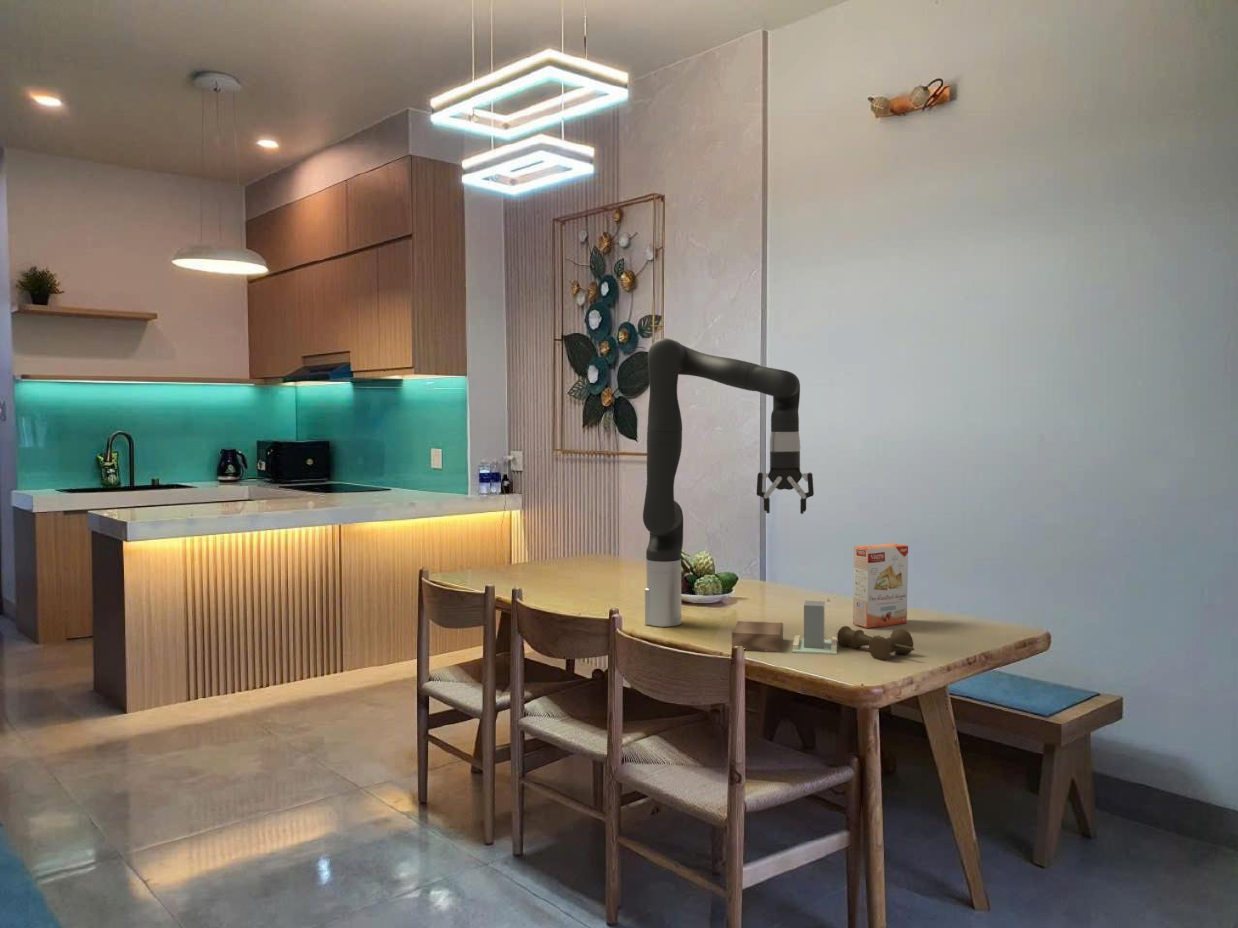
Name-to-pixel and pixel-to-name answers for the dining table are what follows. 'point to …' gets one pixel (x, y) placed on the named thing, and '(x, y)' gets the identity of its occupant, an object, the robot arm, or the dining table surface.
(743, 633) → the riser
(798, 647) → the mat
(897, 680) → the dining table surface
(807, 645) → the gray rectangular block
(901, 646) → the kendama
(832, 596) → the dining table surface
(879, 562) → the cracker box
